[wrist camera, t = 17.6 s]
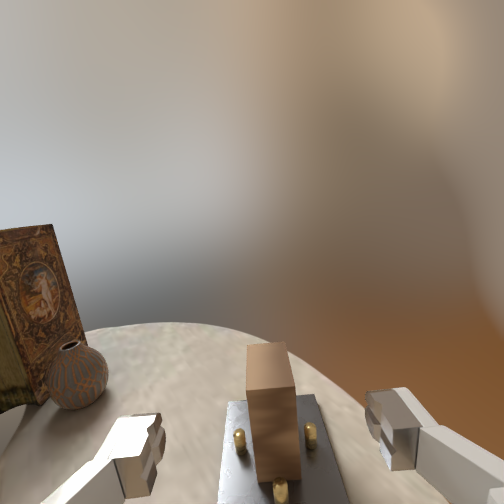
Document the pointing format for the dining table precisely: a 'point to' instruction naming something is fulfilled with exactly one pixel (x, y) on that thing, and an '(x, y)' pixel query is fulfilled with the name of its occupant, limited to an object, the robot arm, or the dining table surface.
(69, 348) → the vase
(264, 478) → the board block
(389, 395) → the robot arm
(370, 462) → the dining table surface
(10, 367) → the book
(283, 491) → the pin plate
